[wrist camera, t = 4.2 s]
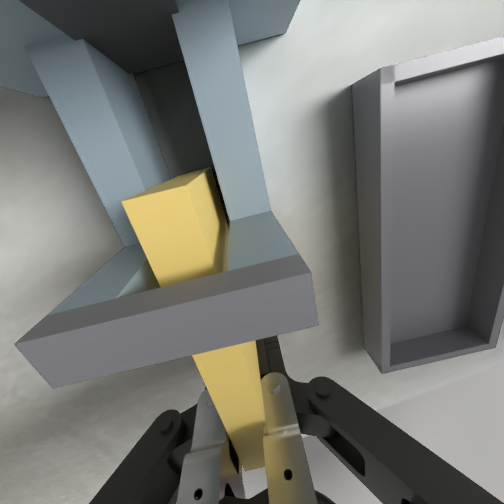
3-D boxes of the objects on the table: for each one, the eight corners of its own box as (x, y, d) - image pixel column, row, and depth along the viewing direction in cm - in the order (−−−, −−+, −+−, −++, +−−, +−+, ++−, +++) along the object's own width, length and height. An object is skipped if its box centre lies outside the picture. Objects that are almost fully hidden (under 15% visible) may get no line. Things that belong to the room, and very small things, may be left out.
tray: (515, 42, 10) (584, 15, 8) (464, 323, 16) (495, 347, 14) (351, 84, 10) (380, 68, 8) (364, 347, 16) (381, 373, 14)
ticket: (211, 167, 11) (186, 185, 5) (260, 341, 15) (279, 463, 9) (181, 174, 11) (121, 201, 5) (239, 346, 15) (245, 471, 9)
